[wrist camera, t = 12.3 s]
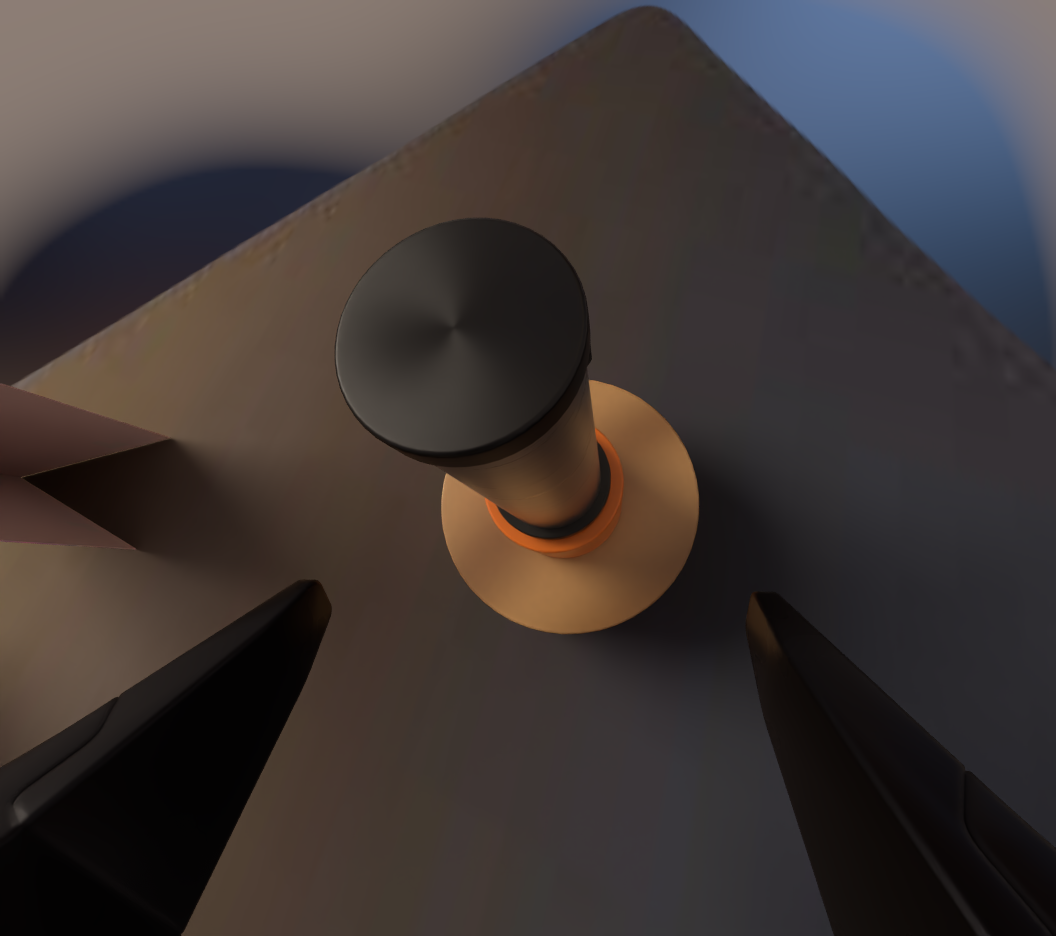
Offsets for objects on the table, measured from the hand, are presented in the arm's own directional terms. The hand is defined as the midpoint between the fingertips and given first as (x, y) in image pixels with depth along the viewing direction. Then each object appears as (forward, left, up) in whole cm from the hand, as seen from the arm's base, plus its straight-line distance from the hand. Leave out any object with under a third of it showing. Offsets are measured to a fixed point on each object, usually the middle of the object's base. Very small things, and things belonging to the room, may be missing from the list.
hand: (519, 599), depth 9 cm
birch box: (+3, -3, -13) cm, 13 cm away
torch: (+3, -3, -8) cm, 9 cm away
